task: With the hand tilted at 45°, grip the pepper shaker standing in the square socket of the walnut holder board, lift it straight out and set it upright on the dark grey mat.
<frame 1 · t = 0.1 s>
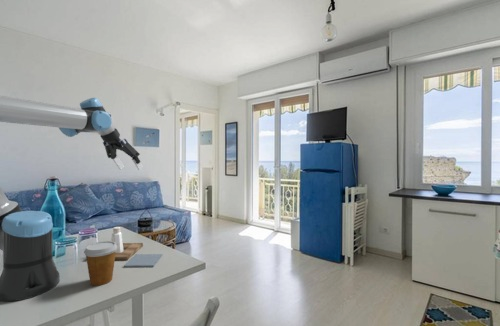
hand: (131, 168, 127), 36 cm above the table, tool tilted 35°, fingers open, 13 cm apart
walnut holder: (116, 252, 109), on the table
grey mat: (144, 261, 100), on the table
pepper shaker: (116, 253, 109), resting in walnut holder
disposable coffee cup: (101, 281, 84), on the table
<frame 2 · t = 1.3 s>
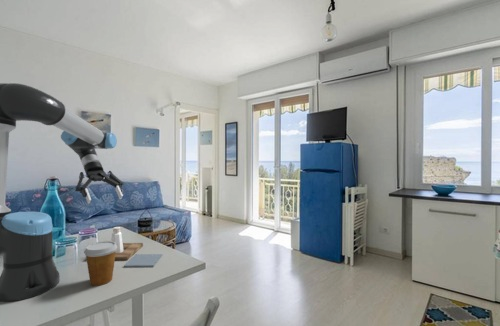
hand: (106, 199, 115), 22 cm above the table, tool tilted 45°, fingers open, 13 cm apart
nothing on the table moved.
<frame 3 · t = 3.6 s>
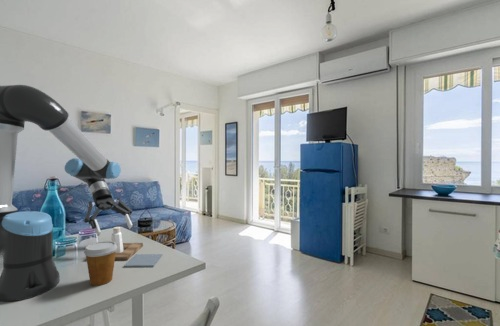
hand: (115, 230, 111), 9 cm above the table, tool tilted 45°, fingers open, 13 cm apart
nothing on the table moved.
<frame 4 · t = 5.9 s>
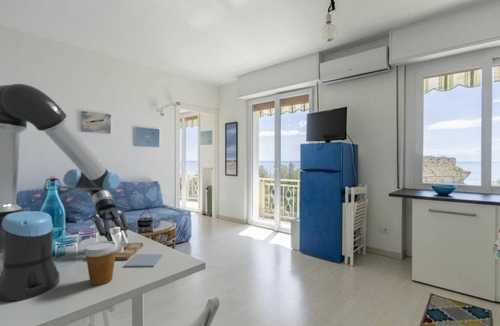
hand: (121, 246, 106), 4 cm above the table, tool tilted 45°, fingers closed on pepper shaker, 4 cm apart
pepper shaker: (116, 253, 109), resting in walnut holder, touching gripper
everything else where it was.
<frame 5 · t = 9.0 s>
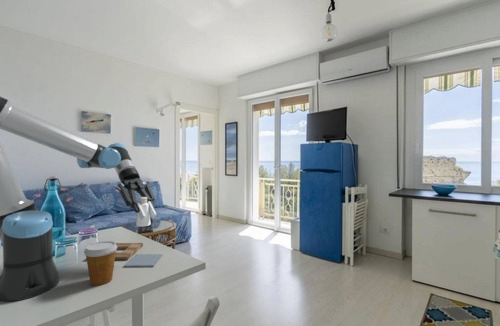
hand: (148, 217, 98), 18 cm above the table, tool tilted 45°, fingers closed on pepper shaker, 4 cm apart
pepper shaker: (143, 225, 100), point 14 cm above the table, touching gripper
everything else where it was.
when the fingers open (6 cm above the table, at t = 12.2 s): pepper shaker drops 1 cm, resting on grey mat.
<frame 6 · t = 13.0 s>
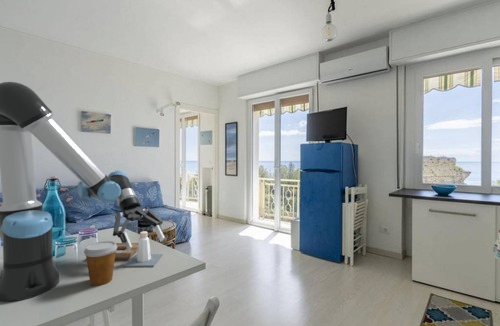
hand: (147, 244, 99), 7 cm above the table, tool tilted 45°, fingers open, 13 cm apart
pepper shaker: (143, 259, 100), resting on grey mat
everything else where it was.
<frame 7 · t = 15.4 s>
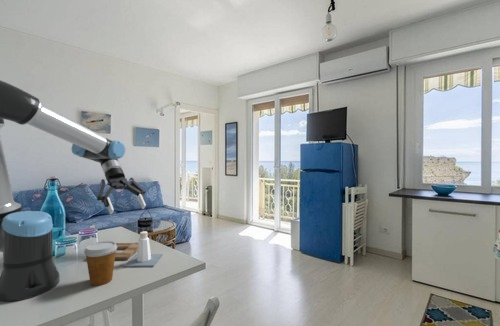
hand: (128, 209, 107), 19 cm above the table, tool tilted 45°, fingers open, 13 cm apart
nothing on the table moved.
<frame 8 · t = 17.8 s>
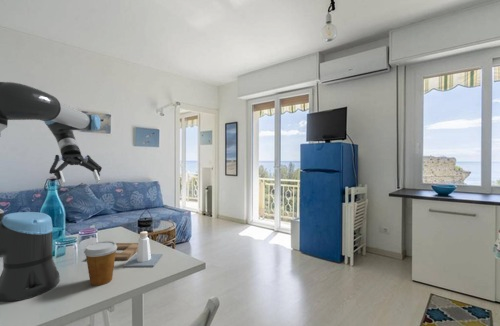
hand: (81, 183, 112), 30 cm above the table, tool tilted 45°, fingers open, 13 cm apart
nothing on the table moved.
at the end: pepper shaker inside the target area on the grey mat (0.1 cm from its centre), point 0.4 cm above the grey mat's base; pepper shaker tilted 0°; the gripper is holding nothing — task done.
